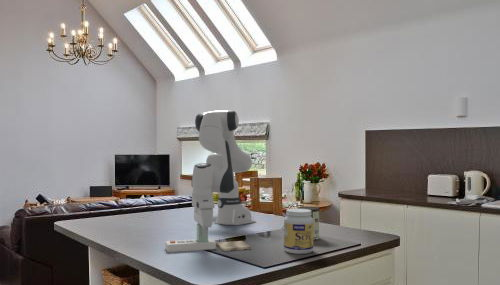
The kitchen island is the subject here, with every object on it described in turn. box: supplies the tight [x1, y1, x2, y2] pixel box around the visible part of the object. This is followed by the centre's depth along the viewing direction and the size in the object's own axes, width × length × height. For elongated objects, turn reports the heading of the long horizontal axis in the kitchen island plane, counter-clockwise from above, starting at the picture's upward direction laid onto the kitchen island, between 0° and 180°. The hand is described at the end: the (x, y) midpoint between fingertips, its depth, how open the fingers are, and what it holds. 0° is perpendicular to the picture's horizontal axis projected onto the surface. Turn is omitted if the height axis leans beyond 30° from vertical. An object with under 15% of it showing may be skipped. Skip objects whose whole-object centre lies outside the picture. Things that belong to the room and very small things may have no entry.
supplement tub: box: [283, 208, 314, 255], centre depth 190 cm, size 12×12×17 cm
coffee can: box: [296, 205, 320, 241], centre depth 217 cm, size 10×10×14 cm
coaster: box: [216, 240, 252, 252], centre depth 196 cm, size 12×12×1 cm
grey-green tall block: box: [196, 223, 209, 242], centre depth 194 cm, size 4×4×12 cm
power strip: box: [164, 238, 217, 253], centre depth 193 cm, size 20×7×4 cm, turn 108°
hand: (202, 234), depth 194 cm, fingers closed on grey-green tall block, 4 cm apart
